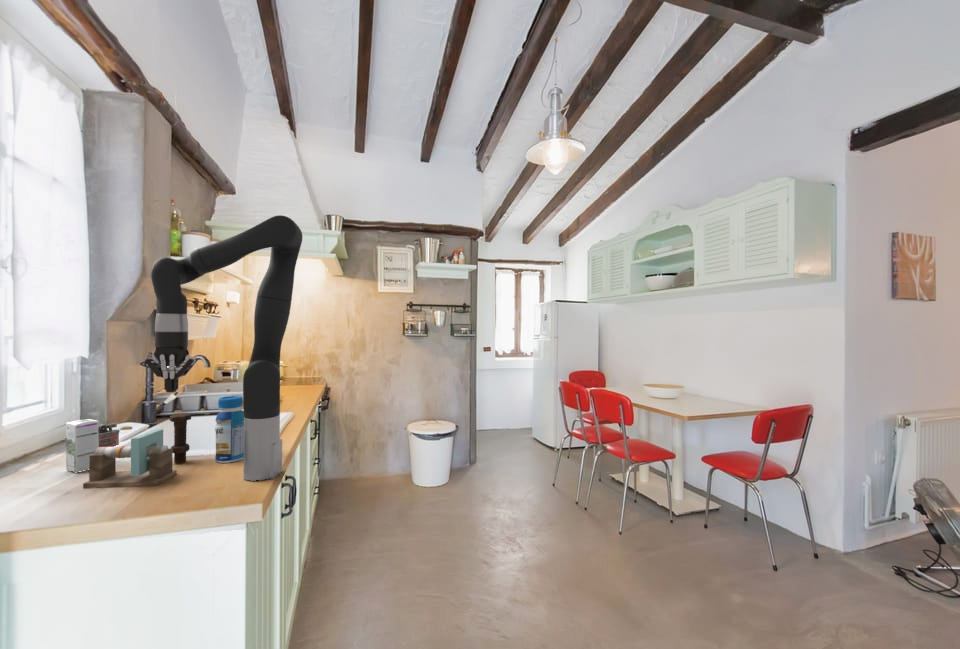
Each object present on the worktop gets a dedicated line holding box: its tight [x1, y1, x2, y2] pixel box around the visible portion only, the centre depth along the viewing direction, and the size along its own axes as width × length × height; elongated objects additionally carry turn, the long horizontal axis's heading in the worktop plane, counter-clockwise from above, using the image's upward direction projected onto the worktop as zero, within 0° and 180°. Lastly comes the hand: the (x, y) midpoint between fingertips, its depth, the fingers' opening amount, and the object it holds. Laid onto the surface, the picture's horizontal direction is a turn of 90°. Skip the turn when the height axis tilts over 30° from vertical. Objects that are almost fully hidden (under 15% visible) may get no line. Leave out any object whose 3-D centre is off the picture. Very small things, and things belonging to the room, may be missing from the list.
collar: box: [130, 428, 164, 476], centre depth 117 cm, size 2×10×10 cm, turn 6°
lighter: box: [98, 422, 120, 447], centre depth 140 cm, size 8×3×10 cm, turn 148°
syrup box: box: [65, 418, 99, 473], centre depth 126 cm, size 6×6×14 cm
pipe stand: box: [82, 445, 178, 489], centre depth 117 cm, size 18×9×10 cm, turn 96°
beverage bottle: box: [214, 395, 244, 464], centre depth 136 cm, size 8×8×20 cm
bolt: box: [169, 412, 192, 465], centre depth 132 cm, size 6×5×15 cm
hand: (171, 392), depth 118 cm, fingers closed
